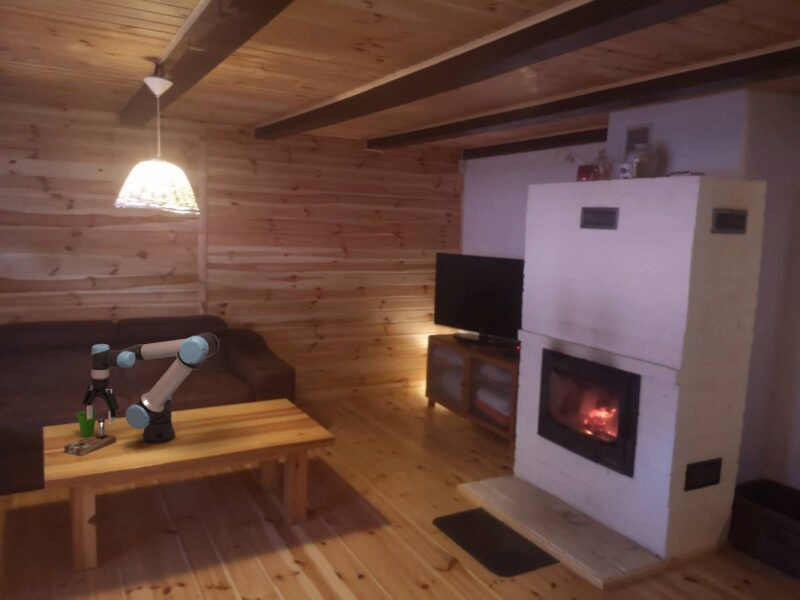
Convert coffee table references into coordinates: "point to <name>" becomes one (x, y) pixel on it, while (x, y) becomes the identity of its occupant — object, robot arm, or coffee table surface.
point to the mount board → (89, 444)
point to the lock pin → (101, 428)
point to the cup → (86, 424)
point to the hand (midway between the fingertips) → (100, 421)
